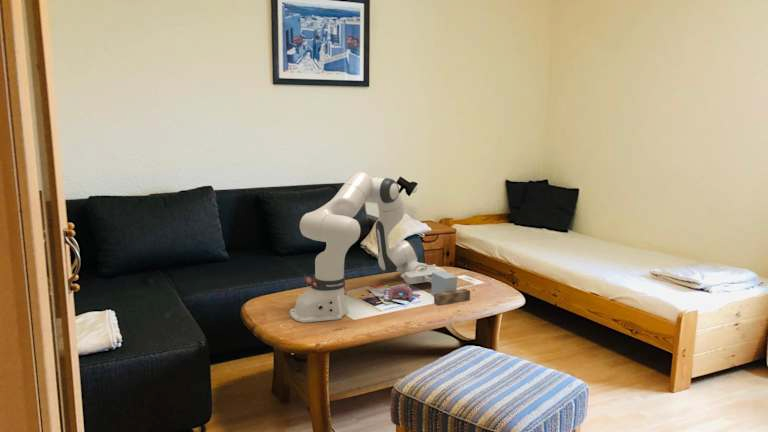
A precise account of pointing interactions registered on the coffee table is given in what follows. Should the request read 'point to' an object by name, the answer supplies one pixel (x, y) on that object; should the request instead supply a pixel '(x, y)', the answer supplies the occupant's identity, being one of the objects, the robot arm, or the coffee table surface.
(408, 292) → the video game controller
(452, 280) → the block
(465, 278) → the photo frame
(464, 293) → the board
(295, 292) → the coffee table surface
